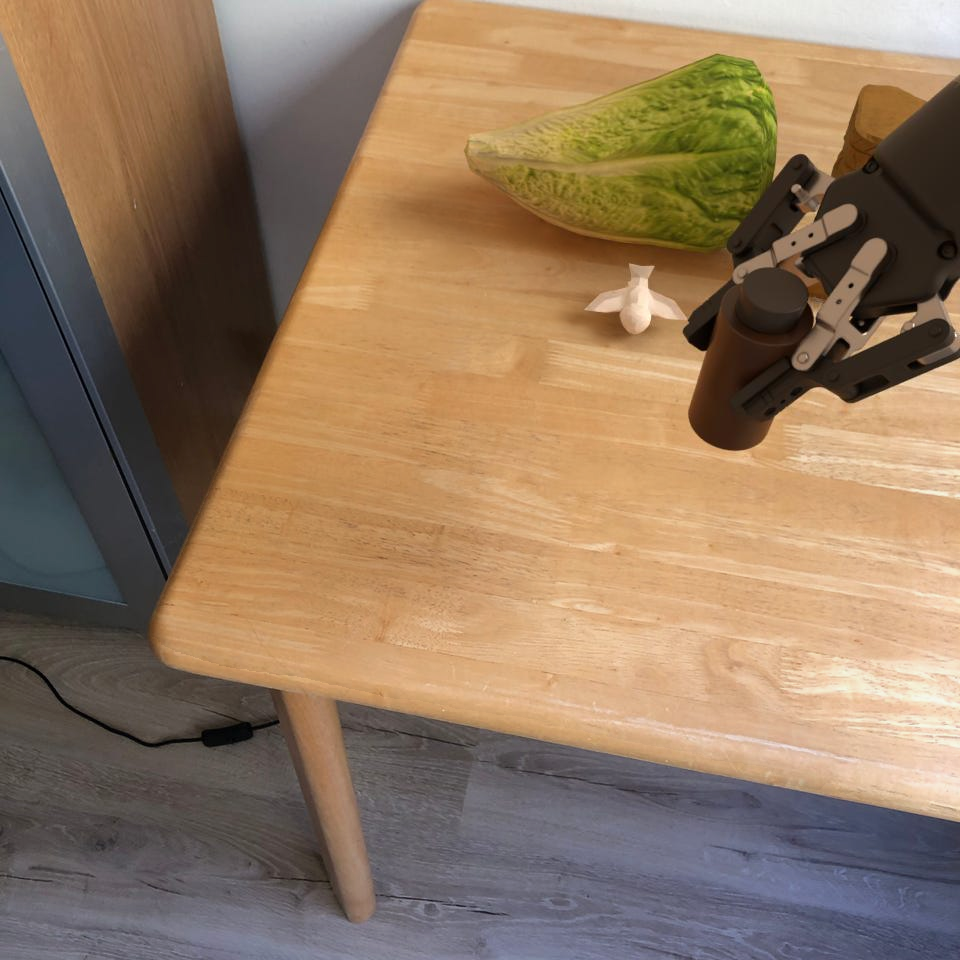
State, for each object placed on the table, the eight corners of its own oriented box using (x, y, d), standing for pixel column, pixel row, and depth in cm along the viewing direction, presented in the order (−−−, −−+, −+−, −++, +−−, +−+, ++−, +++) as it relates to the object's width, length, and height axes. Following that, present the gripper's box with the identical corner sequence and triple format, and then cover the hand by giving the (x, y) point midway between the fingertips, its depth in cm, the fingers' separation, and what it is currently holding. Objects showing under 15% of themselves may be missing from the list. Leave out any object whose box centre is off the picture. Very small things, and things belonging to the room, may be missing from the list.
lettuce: (463, 282, 79) (474, 181, 89) (766, 280, 77) (743, 177, 87) (451, 115, 68) (465, 21, 78) (804, 109, 66) (772, 13, 76)
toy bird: (580, 335, 73) (588, 276, 71) (581, 311, 77) (589, 254, 75) (686, 346, 73) (698, 287, 70) (682, 321, 77) (693, 265, 74)
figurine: (800, 242, 81) (862, 78, 69) (879, 259, 80) (956, 96, 68) (789, 297, 77) (853, 133, 65) (872, 316, 76) (953, 154, 64)
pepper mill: (785, 420, 55) (842, 291, 47) (736, 465, 53) (786, 338, 45) (721, 376, 57) (765, 243, 49) (671, 417, 55) (708, 287, 47)
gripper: (894, 9, 45) (620, 261, 52) (1102, 200, 37) (745, 464, 44) (944, 93, 50) (689, 311, 58) (1134, 275, 43) (811, 499, 50)
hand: (715, 376), depth 51 cm, fingers closed on pepper mill, 4 cm apart
